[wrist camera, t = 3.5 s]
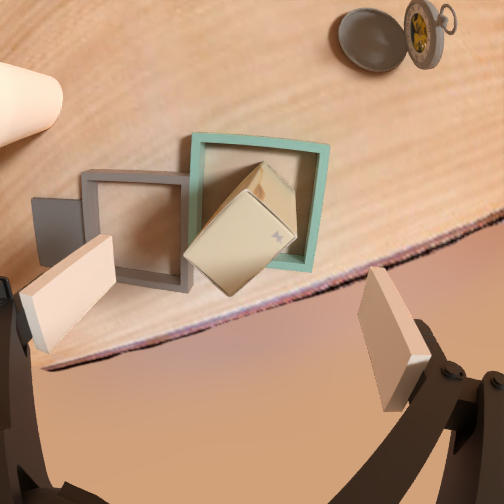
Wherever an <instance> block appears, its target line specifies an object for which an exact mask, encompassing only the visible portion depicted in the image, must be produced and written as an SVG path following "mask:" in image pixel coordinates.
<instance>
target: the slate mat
mask: <svg viewBox="0 0 504 504" xmlns="http://www.w3.org/2000/svg"><path fill="white" fill-rule="evenodd" d="M31 203H32V212H33V221H34V229H35V236H36V242H37V249H38V254H39V260H40V265H41V266H46V267H51V268H52V267H54V266H55V265H56V264H58V263H59V262H60V261H62V260H63V259H65V258H66V257H67V256H69V255H70V254H72V253H73V252H75V251H76V250H77V249H79V248H80V247H82V246H83V245H85V244H86V239H85V229H84V217H83V203H82V200H76V199H57V198H35V197H34V198H32V199H31Z"/></svg>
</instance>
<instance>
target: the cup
mask: <svg viewBox="0 0 504 504" xmlns="http://www.w3.org/2000/svg"><path fill="white" fill-rule="evenodd" d="M62 102H63V95H62V89H61V86H60V84H59V83H58V81H57V80H56V79H54V78H53V77H50V76H47V75H44V74H40V73H37V72H34V71H31V70H27V69H24V68H20V67H17V66H13V65H10V64H6V63H2V62H0V148H1V147H3V146H5V145H8V144H10V143H13V142H15V141H18V140H20V139H23V138H25V137H28V136H31V135H33V134H36V133H39V132H41V131H44V130H47V129H48V128H50V127H51V126H52V125H53V124H54V123H55V121H56V120H57V118H58V116H59V114H60V111H61V108H62Z"/></svg>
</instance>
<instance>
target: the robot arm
mask: <svg viewBox="0 0 504 504" xmlns="http://www.w3.org/2000/svg"><path fill="white" fill-rule="evenodd" d="M115 283H116V275H115V265H114V255H113V243H112V235H103V234H99V235H98V236H96V237H95V238H94V239H92V240H91V241H89V242H88V243H86V244H85V245H83V246H82V247H80V248H79V249H77V250H76V251H75V252H73V253H72V254H70V255H69V256H67V257H66V258H65V259H63V260H62V261H60V262H59V263H58V264H56V265H55V266H54V267H52V268H51V269H49V270H48V271H47V272H45V273H43V274H41V275H39V276H38V277H37V278H35V279H34V280H33V281H31V282H30V283H29V284H27V285H26V286H25V287H23V288H22V289H21V290H20V291H18V292H17V293H16V294H14V295H13V294H12V290H11V286H10V282H9V279H8V278H7V277H3V276H0V504H109V503H107V502H106V501H104V500H103V499H101V498H100V497H98V496H97V495H95V494H92V493H90V492H88V491H85V490H83V489H81V488H78V487H76V486H74V485H72V484H70V483H68V482H66V481H65V482H64V484H63V486H62V488H54V487H53V486H52V485H51V483H50V481H49V478H48V475H47V472H46V467H45V463H44V458H43V454H42V449H41V444H40V438H39V433H38V426H37V420H36V413H35V405H34V396H33V386H32V375H31V358H30V348H29V345H28V342H29V341H30V340H31V339H32V338H33V341H34V344H35V346H36V349H38V350H40V351H43V352H46V353H48V354H49V353H50V352H51V351H52V350H53V349H54V348H55V347H56V346H57V344H58V343H59V342H60V341H61V340H62V339H63V338H64V337H65V336H66V334H67V333H68V332H69V331H70V330H71V329H72V328H73V327H74V326H75V325H76V324H77V323H78V321H79V320H80V319H81V318H82V317H83V316H84V315H85V314H86V313H87V312H88V311H89V310H90V309H91V308H92V307H93V306H94V304H95V303H96V302H97V301H98V300H99V299H100V298H101V297H102V296H103V295H104V294H105V293H106V292H107V291H108V290H109V289H110V288H111V287H112V286H113V285H114V284H115ZM358 318H359V321H360V325H361V328H362V332H363V335H364V338H365V342H366V345H367V349H368V353H369V356H370V360H371V363H372V367H373V371H374V375H375V379H376V383H377V387H378V390H379V395H380V399H381V403H382V407H383V411H384V412H398V411H399V412H400V411H402V410H403V409H404V407H405V405H406V404H407V402H408V401H409V404H410V405H409V407H408V408H407V410H406V411H405V412H404V414H403V415H402V417H401V418H400V419H399V421H398V422H397V424H396V425H395V426H394V428H393V429H392V430H391V432H390V433H389V434H388V436H387V437H386V438H385V439H384V441H383V442H382V443H381V445H380V446H379V447H378V448H377V450H376V451H375V452H374V453H373V454H372V456H371V457H370V458H369V459H368V461H367V462H366V463H365V464H364V465H363V466H362V468H361V469H360V470H359V471H358V472H357V473H356V474H355V475H354V477H353V478H352V479H351V480H350V481H349V482H348V483H347V484H346V485H345V486H344V487H343V488H342V490H341V491H340V492H339V493H338V494H337V495H336V496H335V497H334V498H333V499H332V500H331V501H330V502H329V503H328V504H399V502H400V501H401V499H402V498H403V497H404V495H405V494H406V492H407V490H408V489H409V488H410V486H411V485H412V483H413V482H414V480H415V479H416V477H417V475H418V474H419V472H420V470H421V469H422V467H423V465H424V464H425V462H426V460H427V459H428V457H429V455H430V453H431V452H432V450H433V448H434V446H435V444H436V443H437V441H438V439H439V437H440V435H441V433H442V431H443V429H449V430H452V431H451V437H450V443H449V449H448V454H447V459H446V464H445V469H444V473H443V478H442V482H441V486H440V490H439V494H438V498H437V501H436V504H504V375H503V374H502V373H499V372H497V371H489V372H487V373H486V374H485V375H484V377H483V379H482V380H476V379H472V378H467V377H466V373H465V371H464V370H463V369H462V367H461V366H459V365H458V364H456V363H454V362H451V361H447V359H446V357H445V355H444V353H443V352H442V350H441V348H440V346H439V344H438V343H437V342H436V339H435V337H434V336H433V333H432V332H431V330H430V328H429V327H428V326H427V325H426V324H425V323H424V322H423V321H422V320H419V319H413V318H412V316H411V314H410V313H409V311H408V309H407V307H406V305H405V303H404V302H403V300H402V298H401V296H400V295H399V293H398V291H397V289H396V287H395V286H394V284H393V282H392V280H391V279H390V277H389V275H388V273H387V272H386V270H385V268H379V267H370V269H369V273H368V277H367V281H366V285H365V289H364V292H363V297H362V300H361V304H360V307H359V311H358Z"/></svg>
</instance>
